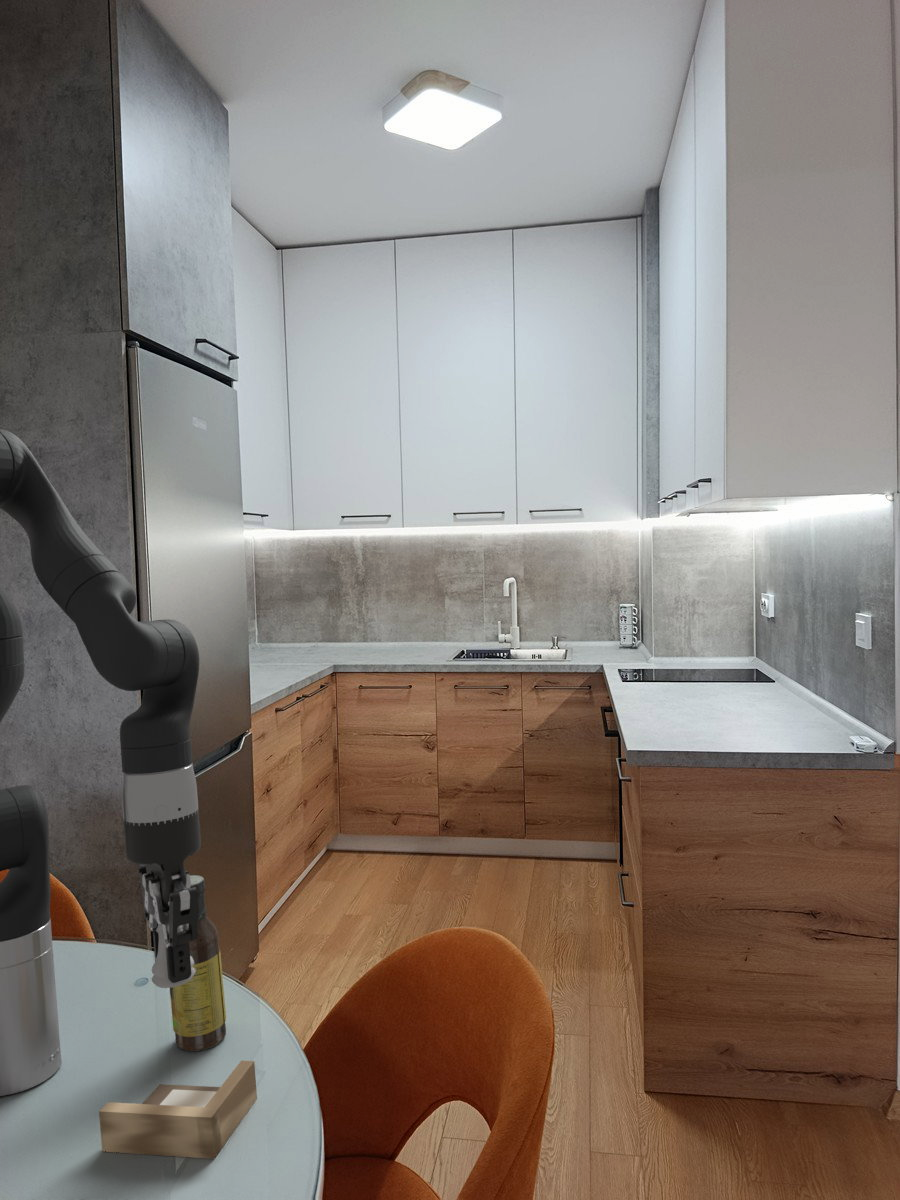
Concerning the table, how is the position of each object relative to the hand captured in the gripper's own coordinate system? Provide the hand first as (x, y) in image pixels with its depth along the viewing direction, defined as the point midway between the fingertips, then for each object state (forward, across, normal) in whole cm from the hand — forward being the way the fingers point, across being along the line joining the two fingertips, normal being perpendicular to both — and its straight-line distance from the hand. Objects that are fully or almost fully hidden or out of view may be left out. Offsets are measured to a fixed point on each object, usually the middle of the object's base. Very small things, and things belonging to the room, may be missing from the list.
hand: (173, 970), depth 90 cm
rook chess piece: (+1, 0, 0) cm, 1 cm away
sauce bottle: (+15, +13, -6) cm, 21 cm away
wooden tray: (+15, -2, 0) cm, 15 cm away
